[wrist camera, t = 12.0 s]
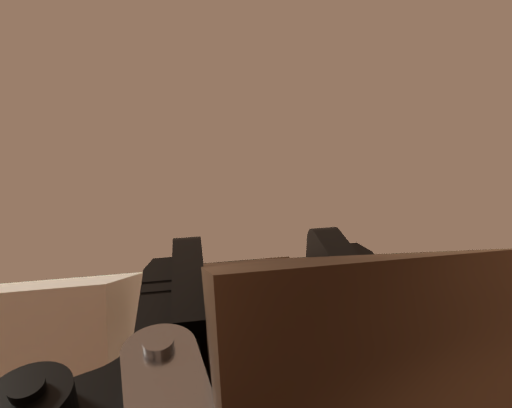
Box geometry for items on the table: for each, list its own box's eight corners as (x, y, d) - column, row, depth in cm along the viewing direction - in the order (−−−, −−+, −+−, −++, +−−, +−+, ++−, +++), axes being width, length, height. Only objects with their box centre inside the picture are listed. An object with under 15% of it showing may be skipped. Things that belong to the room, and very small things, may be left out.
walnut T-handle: (19, 741, 3) (15, 291, 3) (171, 323, 22) (168, 266, 23) (738, 570, 4) (672, 235, 4) (282, 311, 23) (277, 257, 24)
